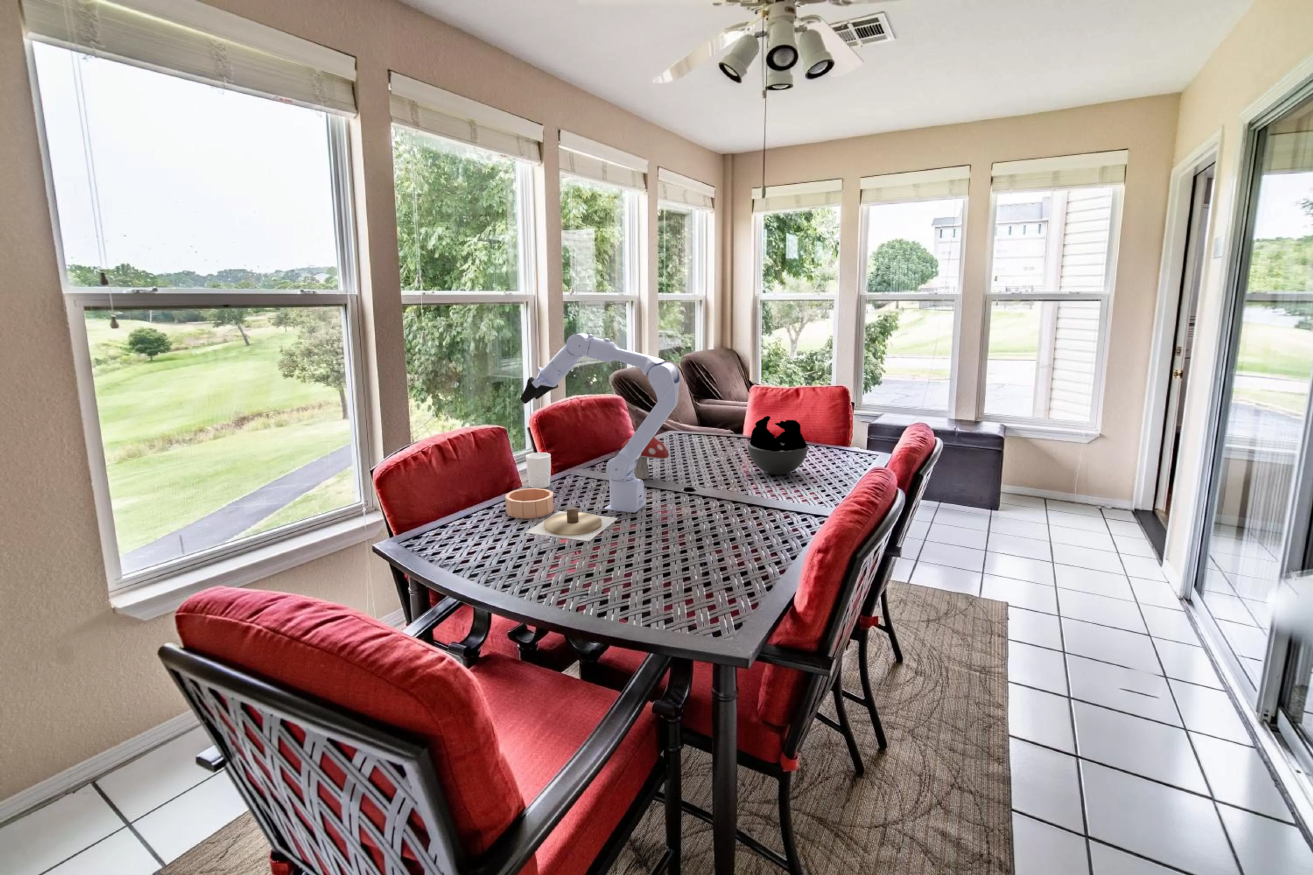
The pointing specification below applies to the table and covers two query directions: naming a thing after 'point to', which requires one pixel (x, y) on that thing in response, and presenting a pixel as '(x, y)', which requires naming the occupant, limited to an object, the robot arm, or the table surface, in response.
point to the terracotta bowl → (529, 503)
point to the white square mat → (584, 537)
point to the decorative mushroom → (648, 456)
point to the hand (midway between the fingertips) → (528, 399)
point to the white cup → (538, 469)
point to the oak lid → (572, 523)
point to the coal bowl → (777, 447)
